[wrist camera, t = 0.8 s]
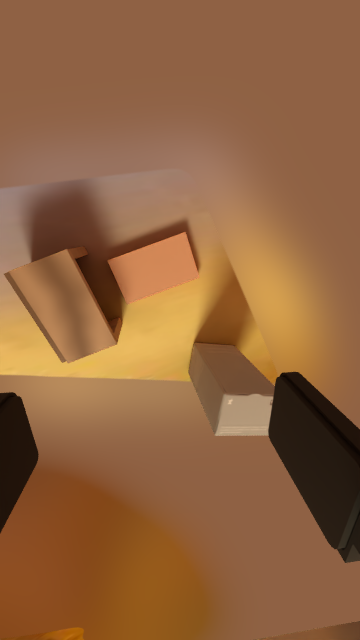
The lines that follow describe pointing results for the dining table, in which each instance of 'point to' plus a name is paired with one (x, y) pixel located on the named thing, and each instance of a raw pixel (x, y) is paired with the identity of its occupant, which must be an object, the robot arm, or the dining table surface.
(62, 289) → the tan open box
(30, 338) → the dining table surface
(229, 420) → the skincare box
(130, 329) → the dining table surface
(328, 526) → the robot arm
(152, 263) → the terracotta tile
